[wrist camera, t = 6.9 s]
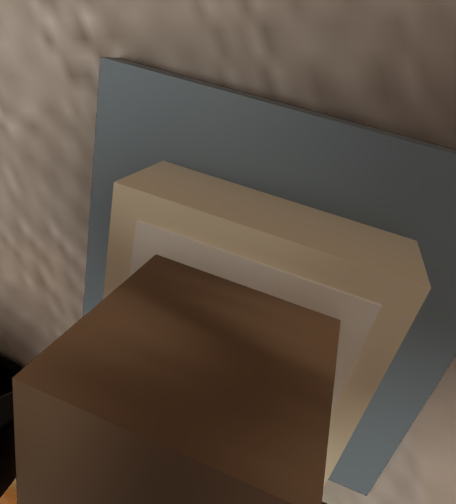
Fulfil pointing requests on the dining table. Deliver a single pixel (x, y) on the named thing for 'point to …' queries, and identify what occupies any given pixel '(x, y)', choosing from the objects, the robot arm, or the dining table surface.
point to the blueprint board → (302, 174)
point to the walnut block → (179, 398)
